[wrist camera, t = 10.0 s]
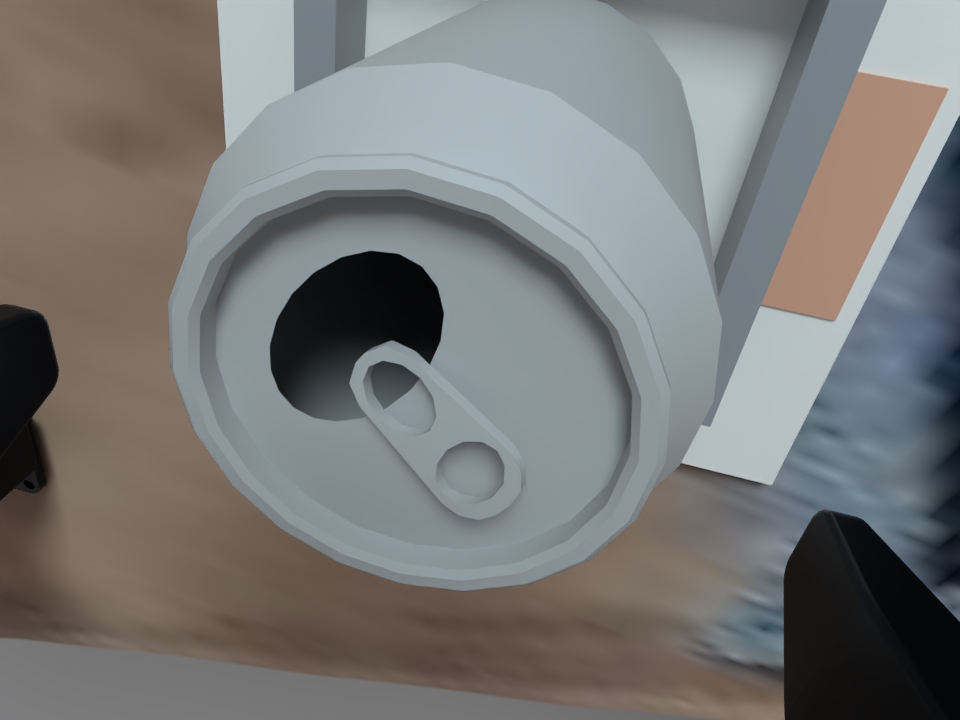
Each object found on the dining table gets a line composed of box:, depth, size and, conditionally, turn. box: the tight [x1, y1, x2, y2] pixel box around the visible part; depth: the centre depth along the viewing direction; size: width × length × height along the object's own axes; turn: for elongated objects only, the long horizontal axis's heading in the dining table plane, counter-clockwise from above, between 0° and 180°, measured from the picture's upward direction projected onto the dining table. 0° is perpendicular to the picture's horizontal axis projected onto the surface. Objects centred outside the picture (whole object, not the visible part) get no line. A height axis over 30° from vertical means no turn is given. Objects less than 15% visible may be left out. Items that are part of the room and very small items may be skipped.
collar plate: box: [217, 0, 960, 485], centre depth 18 cm, size 18×18×3 cm
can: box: [169, 0, 722, 591], centre depth 13 cm, size 8×8×12 cm
